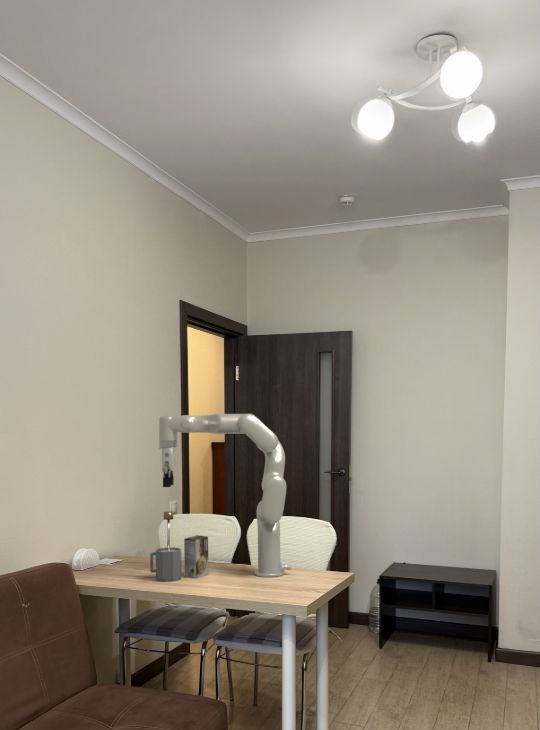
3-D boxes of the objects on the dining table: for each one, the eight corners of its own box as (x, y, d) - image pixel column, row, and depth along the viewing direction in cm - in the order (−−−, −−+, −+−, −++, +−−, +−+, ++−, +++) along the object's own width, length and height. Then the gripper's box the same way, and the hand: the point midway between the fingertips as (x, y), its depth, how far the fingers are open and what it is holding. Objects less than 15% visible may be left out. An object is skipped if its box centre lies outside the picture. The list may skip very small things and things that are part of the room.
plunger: (179, 550, 293) (178, 510, 295) (177, 553, 285) (177, 512, 287) (160, 550, 293) (160, 510, 294) (157, 554, 285) (157, 513, 286)
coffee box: (196, 573, 299) (196, 535, 300) (209, 574, 296) (208, 536, 297) (183, 577, 291) (183, 538, 293) (196, 578, 288) (195, 539, 289)
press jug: (182, 576, 293) (182, 547, 294) (179, 581, 283) (179, 551, 284) (152, 576, 293) (152, 547, 294) (148, 582, 283) (148, 552, 284)
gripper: (174, 445, 285) (175, 487, 283) (179, 444, 302) (179, 484, 300) (156, 445, 284) (156, 488, 283) (161, 444, 302) (162, 484, 300)
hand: (168, 486), depth 292 cm, fingers open, 9 cm apart
